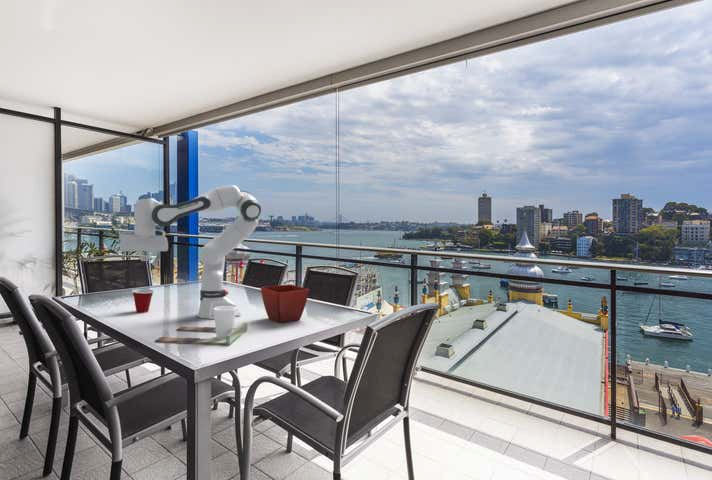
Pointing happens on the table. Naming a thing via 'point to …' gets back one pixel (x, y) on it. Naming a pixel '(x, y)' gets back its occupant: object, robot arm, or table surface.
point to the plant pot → (284, 302)
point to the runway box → (228, 341)
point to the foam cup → (224, 320)
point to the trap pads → (198, 338)
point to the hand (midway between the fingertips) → (144, 260)
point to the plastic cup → (142, 299)
